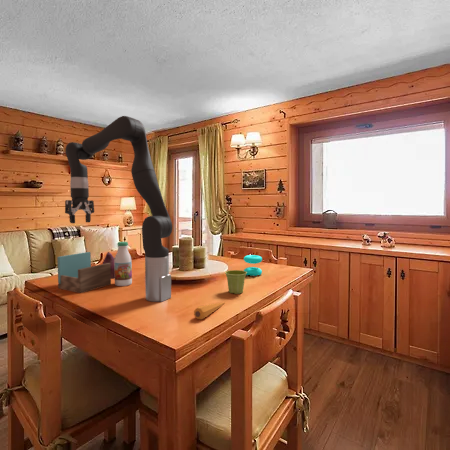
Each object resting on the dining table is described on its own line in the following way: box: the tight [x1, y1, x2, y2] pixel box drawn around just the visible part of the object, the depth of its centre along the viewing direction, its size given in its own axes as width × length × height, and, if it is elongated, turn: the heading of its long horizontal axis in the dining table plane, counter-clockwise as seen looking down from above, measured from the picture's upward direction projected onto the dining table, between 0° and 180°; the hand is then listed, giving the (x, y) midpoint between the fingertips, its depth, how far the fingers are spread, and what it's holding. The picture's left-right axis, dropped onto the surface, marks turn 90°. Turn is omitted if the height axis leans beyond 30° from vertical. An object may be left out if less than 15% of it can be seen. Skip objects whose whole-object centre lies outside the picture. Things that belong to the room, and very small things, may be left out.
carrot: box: [193, 302, 225, 320], centre depth 108 cm, size 20×4×4 cm, turn 153°
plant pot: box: [224, 269, 247, 295], centre depth 131 cm, size 9×9×9 cm
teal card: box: [56, 251, 92, 284], centre depth 142 cm, size 2×16×12 cm, turn 153°
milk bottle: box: [114, 241, 133, 287], centre depth 142 cm, size 8×8×20 cm
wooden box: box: [57, 263, 112, 294], centre depth 139 cm, size 15×16×10 cm
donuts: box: [243, 254, 263, 277], centre depth 164 cm, size 10×10×10 cm
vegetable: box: [102, 251, 115, 280], centre depth 156 cm, size 10×10×15 cm
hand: (80, 222), depth 140 cm, fingers open, 8 cm apart
